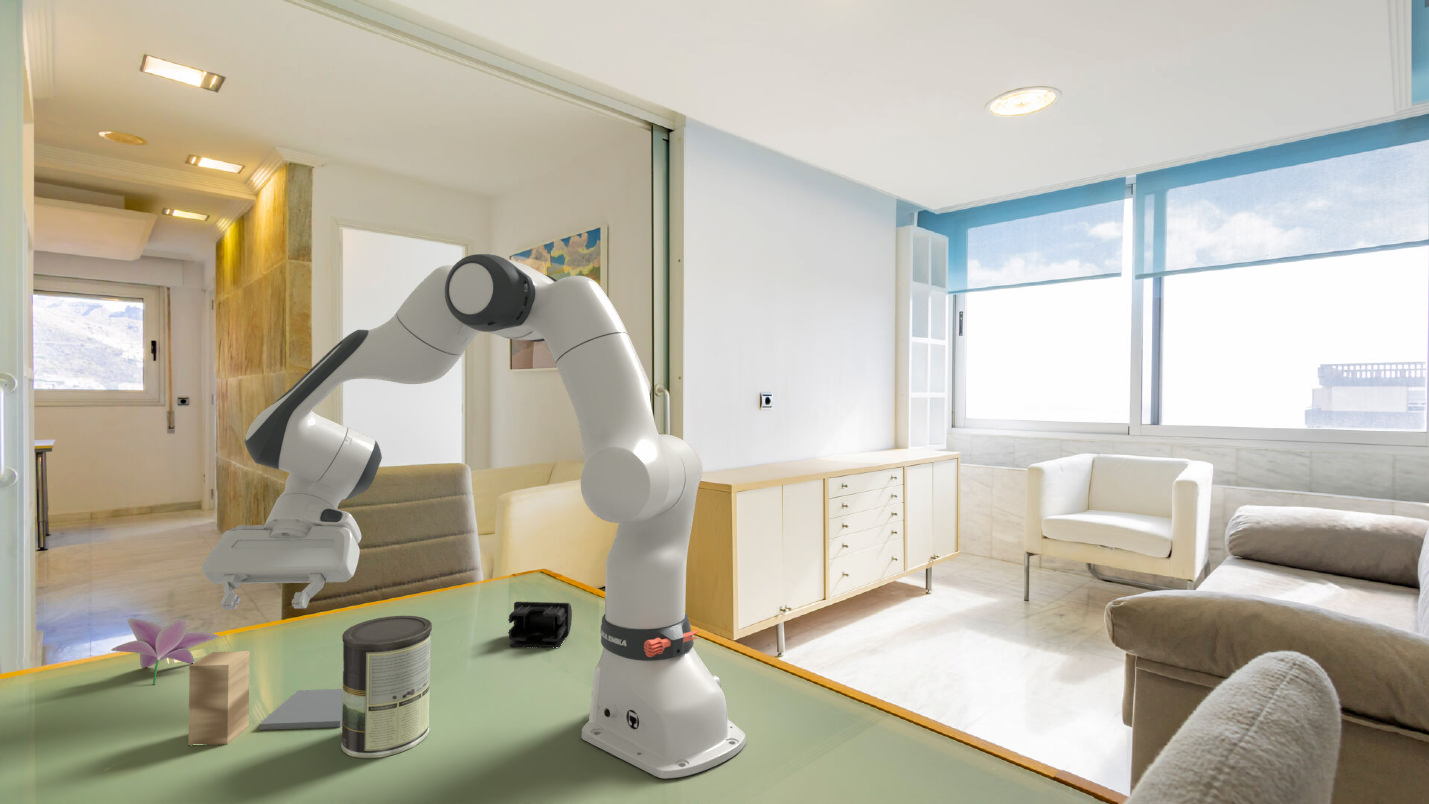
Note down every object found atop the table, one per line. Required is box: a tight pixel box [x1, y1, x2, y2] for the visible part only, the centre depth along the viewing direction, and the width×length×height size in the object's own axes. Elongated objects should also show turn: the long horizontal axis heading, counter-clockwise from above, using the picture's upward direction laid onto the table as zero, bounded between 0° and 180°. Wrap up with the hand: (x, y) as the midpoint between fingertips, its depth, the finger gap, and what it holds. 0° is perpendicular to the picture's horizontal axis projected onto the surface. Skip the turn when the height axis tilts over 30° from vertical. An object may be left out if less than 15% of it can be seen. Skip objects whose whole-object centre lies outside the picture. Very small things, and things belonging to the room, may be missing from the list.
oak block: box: [187, 650, 251, 746], centre depth 84 cm, size 4×4×10 cm
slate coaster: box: [258, 688, 343, 731], centre depth 91 cm, size 10×10×1 cm
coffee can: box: [340, 615, 433, 759], centre depth 84 cm, size 10×10×14 cm
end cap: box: [507, 601, 573, 649], centre depth 119 cm, size 10×7×7 cm
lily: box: [110, 618, 220, 685], centre depth 102 cm, size 12×12×10 cm
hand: (263, 607), depth 93 cm, fingers open, 8 cm apart
